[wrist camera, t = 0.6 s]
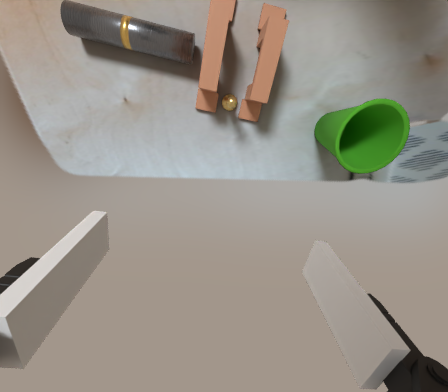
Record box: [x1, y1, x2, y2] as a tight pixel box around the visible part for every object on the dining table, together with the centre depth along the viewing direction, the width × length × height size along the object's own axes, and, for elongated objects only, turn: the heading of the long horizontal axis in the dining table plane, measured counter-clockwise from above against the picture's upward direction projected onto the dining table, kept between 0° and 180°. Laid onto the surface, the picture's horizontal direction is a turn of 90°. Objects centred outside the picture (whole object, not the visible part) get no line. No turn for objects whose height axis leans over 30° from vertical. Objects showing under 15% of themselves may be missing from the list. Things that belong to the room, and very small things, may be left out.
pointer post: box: [222, 94, 237, 111], centre depth 31 cm, size 2×2×6 cm
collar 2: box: [238, 3, 289, 122], centre depth 29 cm, size 15×3×6 cm, turn 168°
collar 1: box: [196, 0, 236, 112], centre depth 29 cm, size 15×3×6 cm, turn 168°
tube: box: [61, 0, 195, 64], centre depth 28 cm, size 16×4×4 cm, turn 78°
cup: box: [315, 99, 410, 174], centre depth 31 cm, size 9×9×11 cm
